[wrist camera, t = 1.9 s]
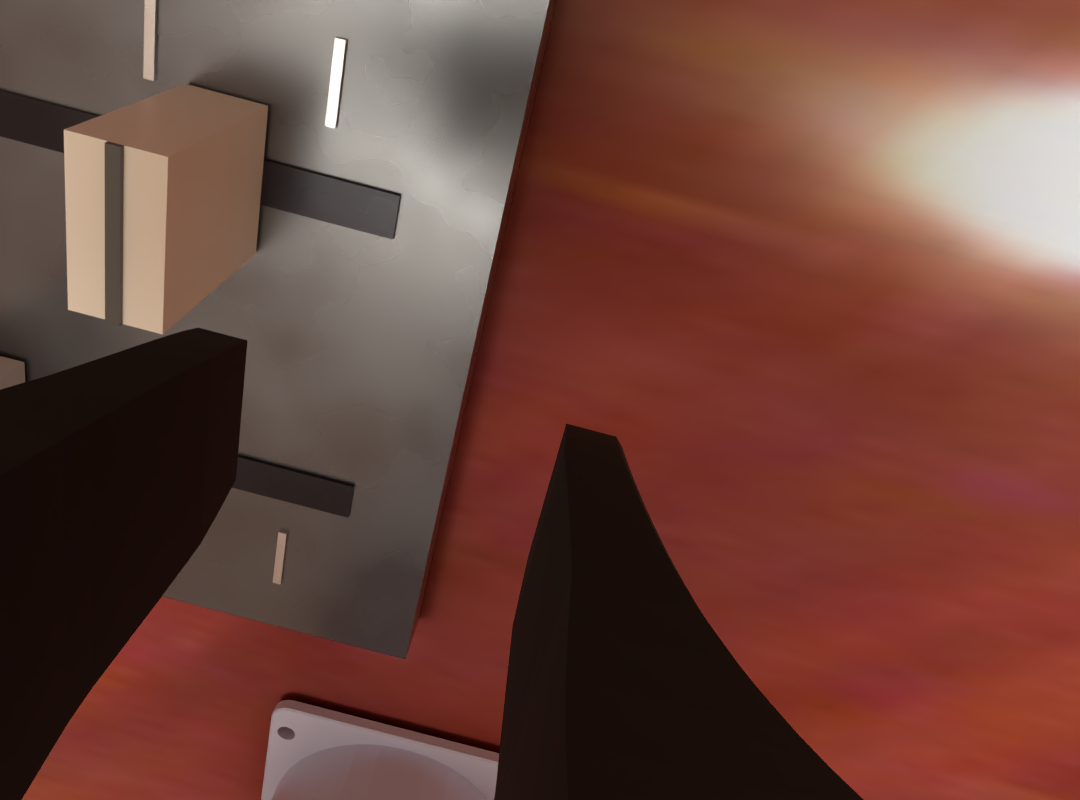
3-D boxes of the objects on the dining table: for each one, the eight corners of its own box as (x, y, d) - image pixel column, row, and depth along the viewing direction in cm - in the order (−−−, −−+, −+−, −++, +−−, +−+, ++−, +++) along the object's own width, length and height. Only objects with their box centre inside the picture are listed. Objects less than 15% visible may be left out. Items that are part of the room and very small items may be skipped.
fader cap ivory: (255, 254, 19) (159, 337, 15) (178, 233, 19) (64, 312, 15) (268, 105, 17) (165, 158, 14) (185, 83, 17) (59, 131, 14)
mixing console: (418, 619, 25) (404, 662, 24) (-340, 423, 25) (-401, 454, 23) (570, -66, 17) (562, -63, 15) (-563, -367, 17) (-677, -393, 15)
